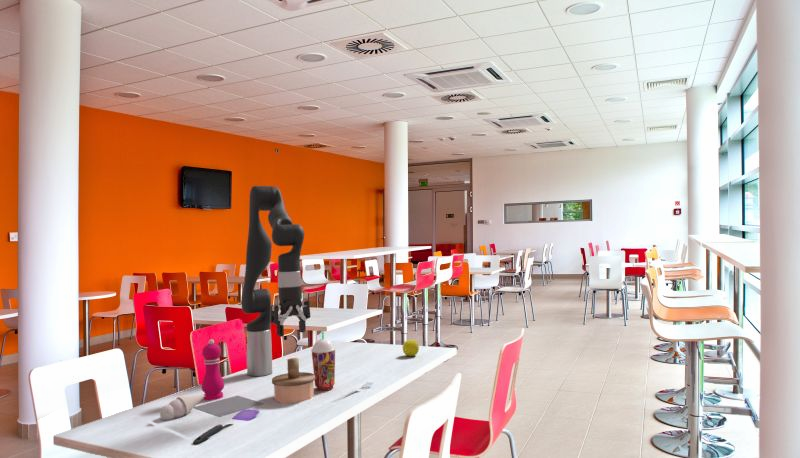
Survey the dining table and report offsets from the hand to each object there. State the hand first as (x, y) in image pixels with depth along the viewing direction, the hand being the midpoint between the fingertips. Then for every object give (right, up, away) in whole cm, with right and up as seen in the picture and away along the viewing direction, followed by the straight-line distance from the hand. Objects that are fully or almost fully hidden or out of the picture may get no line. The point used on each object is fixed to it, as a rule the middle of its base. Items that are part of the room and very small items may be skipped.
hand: (291, 334), depth 188 cm
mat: (-19, -22, -7) cm, 30 cm away
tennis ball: (+40, -20, +58) cm, 74 cm away
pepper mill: (-27, -23, +3) cm, 35 cm away
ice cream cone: (-30, -23, -14) cm, 40 cm away
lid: (+1, -15, 0) cm, 15 cm away
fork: (+19, -21, +2) cm, 28 cm away
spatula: (-13, -22, -28) cm, 38 cm away
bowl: (+1, -21, 0) cm, 21 cm away
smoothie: (+10, -21, +11) cm, 26 cm away
